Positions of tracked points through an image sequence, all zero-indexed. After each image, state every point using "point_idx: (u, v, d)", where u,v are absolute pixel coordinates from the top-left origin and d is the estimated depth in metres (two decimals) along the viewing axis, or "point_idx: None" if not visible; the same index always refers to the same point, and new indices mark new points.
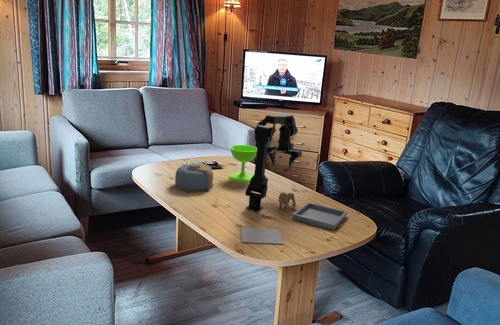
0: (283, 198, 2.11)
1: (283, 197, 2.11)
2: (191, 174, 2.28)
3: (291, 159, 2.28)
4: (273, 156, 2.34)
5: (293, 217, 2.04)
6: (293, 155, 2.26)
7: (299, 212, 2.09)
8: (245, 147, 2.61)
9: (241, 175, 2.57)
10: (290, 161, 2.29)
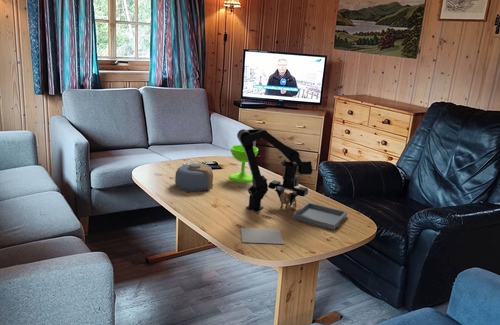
0: (285, 198, 2.12)
1: (285, 197, 2.11)
2: (191, 174, 2.28)
3: (292, 196, 2.12)
4: None
5: (293, 217, 2.04)
6: (299, 193, 2.10)
7: (299, 212, 2.09)
8: None
9: (241, 175, 2.57)
10: (291, 198, 2.13)
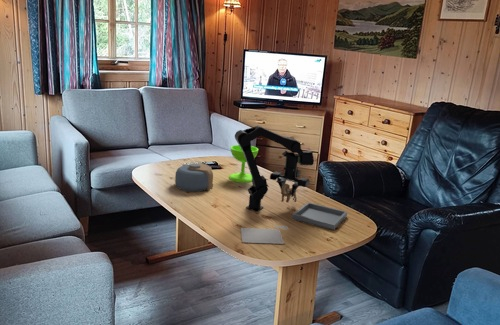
0: (286, 188, 2.10)
1: (286, 187, 2.10)
2: (191, 174, 2.28)
3: (294, 187, 2.11)
4: None
5: (293, 217, 2.04)
6: (300, 184, 2.09)
7: (299, 212, 2.09)
8: None
9: (241, 175, 2.57)
10: (293, 189, 2.12)
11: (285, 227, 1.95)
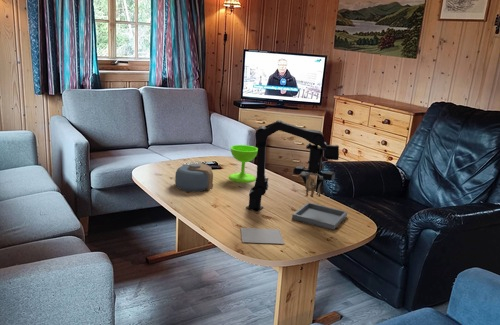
0: (311, 183, 2.03)
1: (311, 181, 2.03)
2: (191, 174, 2.28)
3: (319, 181, 2.03)
4: None
5: (293, 217, 2.04)
6: (326, 178, 2.01)
7: (299, 212, 2.09)
8: (245, 147, 2.61)
9: (241, 175, 2.57)
10: (318, 183, 2.04)
11: None
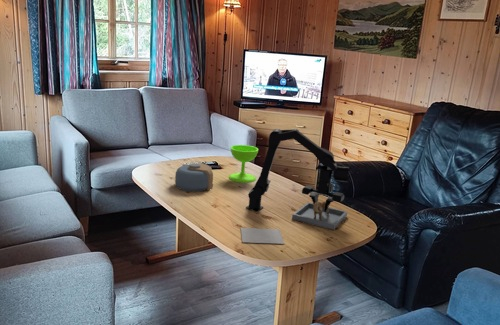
0: (318, 207, 2.00)
1: (318, 206, 2.00)
2: (191, 174, 2.28)
3: (328, 202, 2.02)
4: (316, 199, 2.07)
5: (293, 217, 2.04)
6: (335, 199, 2.00)
7: (299, 212, 2.09)
8: (245, 147, 2.61)
9: (241, 175, 2.57)
10: (326, 204, 2.03)
11: None
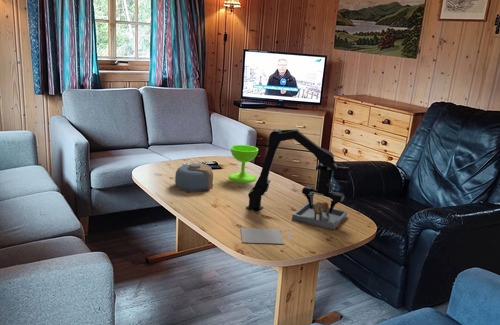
0: (319, 208, 2.00)
1: (319, 207, 2.00)
2: (191, 174, 2.28)
3: (333, 203, 2.01)
4: (311, 198, 2.08)
5: (293, 217, 2.04)
6: (335, 199, 2.00)
7: (299, 212, 2.09)
8: (245, 147, 2.61)
9: (241, 175, 2.57)
10: (331, 205, 2.02)
11: None
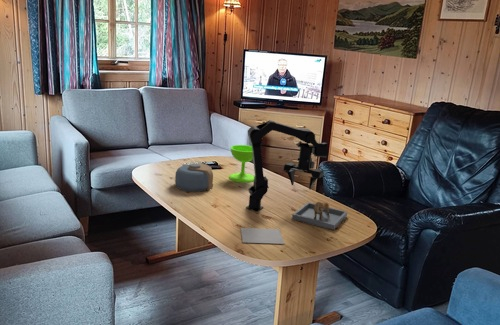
0: (319, 208, 2.01)
1: (319, 207, 2.00)
2: (191, 174, 2.28)
3: (312, 179, 2.08)
4: (292, 175, 2.15)
5: (293, 217, 2.04)
6: (314, 175, 2.07)
7: (299, 212, 2.09)
8: (245, 147, 2.61)
9: (241, 175, 2.57)
10: (311, 181, 2.09)
11: None
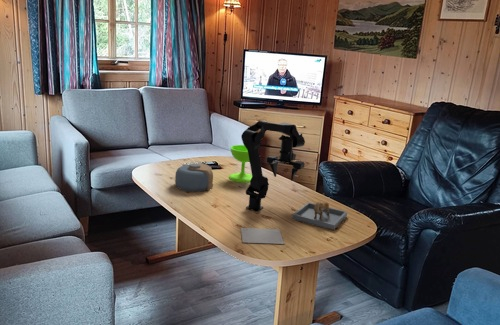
0: (320, 208, 2.01)
1: (320, 207, 2.01)
2: (191, 174, 2.28)
3: (293, 170, 2.17)
4: (275, 167, 2.24)
5: (293, 217, 2.04)
6: (296, 166, 2.16)
7: (299, 212, 2.09)
8: (245, 147, 2.61)
9: (241, 175, 2.57)
10: (292, 172, 2.18)
11: None
